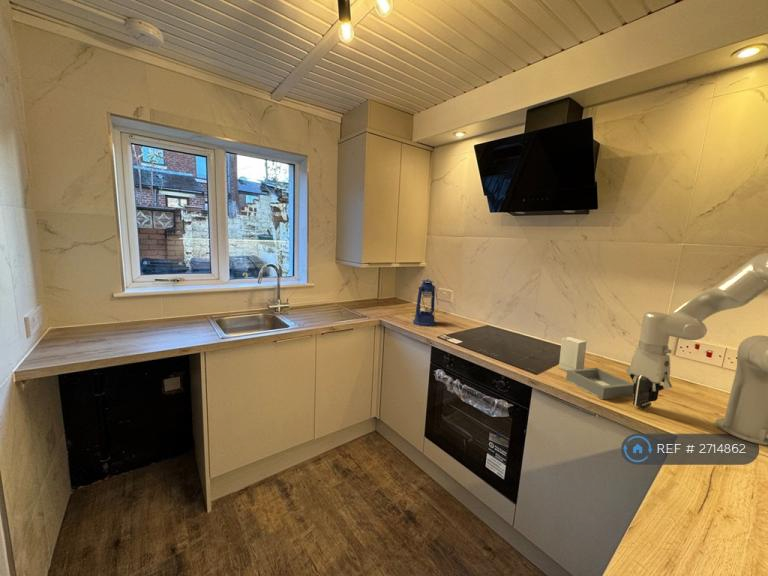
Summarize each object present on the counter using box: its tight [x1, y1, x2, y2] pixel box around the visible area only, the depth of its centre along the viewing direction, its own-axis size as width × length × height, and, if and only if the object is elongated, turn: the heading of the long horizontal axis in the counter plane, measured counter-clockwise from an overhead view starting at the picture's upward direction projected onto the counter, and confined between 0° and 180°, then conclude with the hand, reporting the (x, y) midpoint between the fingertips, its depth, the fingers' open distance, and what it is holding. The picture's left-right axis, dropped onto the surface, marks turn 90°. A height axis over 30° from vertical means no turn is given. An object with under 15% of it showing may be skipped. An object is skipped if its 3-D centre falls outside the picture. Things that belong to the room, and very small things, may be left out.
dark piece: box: [632, 375, 652, 409], centre depth 109 cm, size 7×4×11 cm, turn 115°
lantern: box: [412, 279, 439, 328], centre depth 205 cm, size 17×15×30 cm
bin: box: [565, 367, 634, 400], centre depth 124 cm, size 16×16×4 cm
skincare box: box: [558, 336, 588, 372], centre depth 139 cm, size 8×6×15 cm
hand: (644, 396), depth 109 cm, fingers closed on dark piece, 4 cm apart
